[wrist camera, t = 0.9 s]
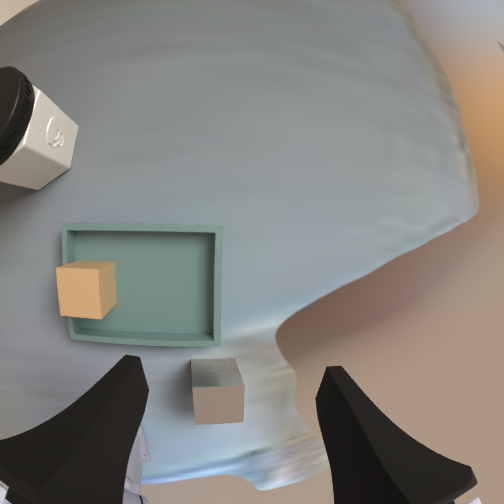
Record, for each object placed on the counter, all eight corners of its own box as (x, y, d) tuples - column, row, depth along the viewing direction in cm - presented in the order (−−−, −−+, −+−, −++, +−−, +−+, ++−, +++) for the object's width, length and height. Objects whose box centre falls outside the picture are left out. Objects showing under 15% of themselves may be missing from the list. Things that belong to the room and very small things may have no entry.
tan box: (116, 302, 23) (101, 319, 19) (81, 300, 23) (60, 315, 18) (115, 261, 23) (98, 269, 18) (78, 260, 22) (56, 267, 17)
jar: (69, 190, 22) (0, 169, 10) (14, 191, 20) (-57, 178, 8) (86, 108, 21) (39, 50, 10) (29, 115, 19) (-26, 74, 8)
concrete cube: (233, 392, 28) (243, 422, 22) (193, 393, 27) (195, 424, 21) (234, 358, 27) (244, 385, 22) (190, 359, 26) (192, 387, 21)
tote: (217, 336, 27) (220, 346, 24) (78, 330, 23) (70, 339, 21) (219, 225, 26) (222, 225, 23) (72, 223, 22) (61, 223, 20)
